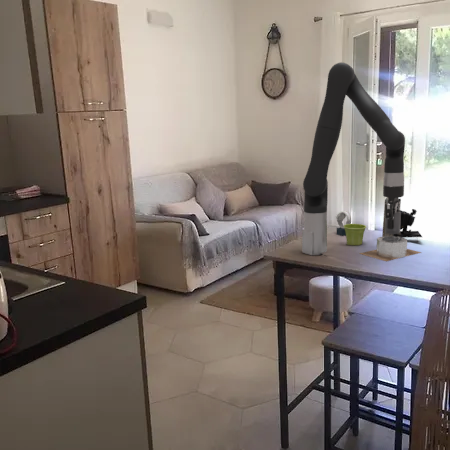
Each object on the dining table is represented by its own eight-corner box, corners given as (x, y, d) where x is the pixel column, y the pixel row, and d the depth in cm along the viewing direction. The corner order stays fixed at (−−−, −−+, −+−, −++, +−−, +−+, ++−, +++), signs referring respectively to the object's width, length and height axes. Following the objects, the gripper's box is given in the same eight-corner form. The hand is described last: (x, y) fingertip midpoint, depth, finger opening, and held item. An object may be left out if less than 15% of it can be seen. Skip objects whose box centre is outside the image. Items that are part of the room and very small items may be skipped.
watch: (343, 232, 240) (343, 209, 237) (354, 235, 232) (354, 212, 230) (333, 233, 237) (334, 210, 235) (344, 236, 230) (344, 213, 228)
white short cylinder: (392, 259, 189) (393, 244, 187) (371, 253, 198) (371, 238, 196) (412, 254, 194) (412, 239, 193) (390, 249, 203) (390, 234, 202)
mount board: (386, 263, 187) (386, 261, 187) (358, 255, 199) (358, 253, 199) (421, 254, 197) (422, 252, 196) (393, 247, 209) (393, 245, 208)
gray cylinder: (393, 234, 190) (393, 214, 189) (381, 232, 195) (382, 212, 193) (403, 232, 193) (403, 212, 191) (391, 230, 198) (392, 210, 196)
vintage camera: (422, 246, 211) (425, 199, 207) (383, 244, 214) (387, 198, 210) (418, 241, 220) (421, 196, 216) (381, 239, 223) (384, 195, 219)
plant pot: (365, 243, 218) (366, 223, 216) (366, 248, 209) (366, 228, 207) (343, 242, 220) (343, 223, 218) (343, 248, 211) (343, 228, 209)
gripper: (388, 181, 198) (387, 223, 201) (378, 186, 186) (377, 230, 190) (408, 182, 194) (407, 224, 197) (399, 187, 182) (397, 232, 186)
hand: (392, 227), depth 194 cm, fingers closed on gray cylinder, 5 cm apart
